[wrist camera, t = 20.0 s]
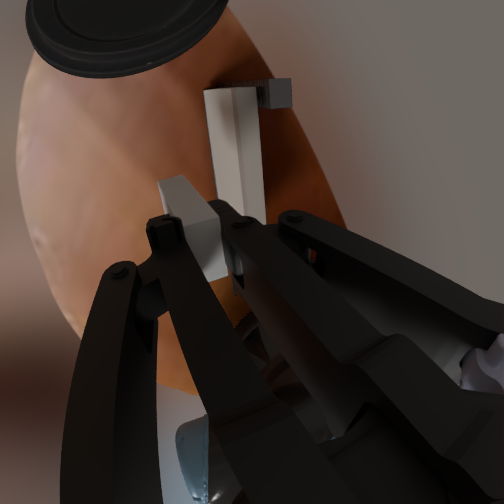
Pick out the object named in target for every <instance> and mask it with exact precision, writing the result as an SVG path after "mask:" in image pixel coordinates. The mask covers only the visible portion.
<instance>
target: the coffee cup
mask: <svg viewBox="0 0 504 504" xmlns="http://www.w3.org/2000/svg"><path fill="white" fill-rule="evenodd" d="M227 3H228V0H28V2H27V6H26V15H25V20H26V28H27V33H28V36H29V38H30V40H31V42H32V45H33V47H34V49H35V50H36V51H37V53H38V54H39V55H40V56H41V58H42V59H43V60H45V61H46V62H47V63H48V64H50V65H51V66H53V67H54V68H56V69H58V70H60V71H62V72H65V73H68V74H71V75H75V76H79V77H85V78H102V79H104V78H116V77H124V76H129V75H134V74H137V73H141V72H144V71H147V70H150V69H153V68H156V67H158V66H161V65H163V64H165V63H167V62H169V61H171V60H173V59H175V58H177V57H178V56H180V55H182V54H183V53H185V52H186V51H188V50H189V49H190V48H192V47H193V46H194V45H196V44H197V43H198V42H199V41H200V40H201V39H202V38H204V37H205V36H206V35H207V34H208V32H209V31H210V30H211V29H212V28H213V27H214V25H215V24H216V23H217V21H218V20H219V18H220V16H221V15H222V13H223V11H224V9H225V7H226V5H227Z"/></svg>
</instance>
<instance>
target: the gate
mask: <svg viewBox="0 0 504 504" xmlns="http://www.w3.org/2000/svg"><path fill="white" fill-rule="evenodd" d="M204 98H205V106H206V114H207V122H208V129H209V136H210V144H211V151H212V158H213V165H214V172H215V179H216V186H217V192H218V199H221V200H224V201H226V202H227V203H229V204H230V206H232V207H233V208H234V209H235V210H236V211H237V212H238V213H239V214H240V215H241V216H251V217H254V218H256V219H257V220H258V221H260V222H261V223H262V224H263V225H266V216H265V201H264V186H263V172H262V158H261V145H260V132H259V120H258V107H257V96H256V87H234V88H218V89H210V90H204Z"/></svg>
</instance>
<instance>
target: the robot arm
mask: <svg viewBox="0 0 504 504" xmlns="http://www.w3.org/2000/svg"><path fill="white" fill-rule="evenodd" d="M158 186H159V191H160V195H161V200H162V204H163V209H164V213H165V215H161V216H158V217H154V218H151V219H149V221H148V222H147V224H146V226H147V227H146V233H147V237H148V240H149V243H150V247H151V250H152V254H151V256H150V257H149V258H148V259H147V260H146V261H145V262H143V263H142V264H140V265H138V266H136V264H135V263H134V262H131V261H121V262H117V263H115V264H113V265H111V266H110V267H109V268H108V269H106V270H105V272H104V273H103V275H102V278H101V280H100V283H99V286H98V289H97V292H96V295H95V298H94V301H93V304H92V307H91V310H90V313H89V316H88V319H87V323H86V326H85V330H84V333H83V337H82V340H81V344H80V348H79V352H78V356H77V360H76V364H75V369H74V373H73V378H72V383H71V388H70V393H69V398H68V405H67V410H66V417H65V425H64V432H63V441H62V452H61V467H60V504H163V497H162V489H161V479H160V468H159V456H158V438H157V410H156V372H157V340H158V317H159V316H161V315H162V314H164V313H165V312H167V311H169V313H170V316H171V319H172V322H173V325H174V328H175V331H176V334H177V337H178V340H179V343H180V346H181V349H182V351H183V354H184V357H185V360H186V362H187V365H188V368H189V370H190V373H191V375H192V378H193V381H194V383H195V386H196V388H197V391H198V393H199V395H200V398H201V400H202V402H203V405H204V407H205V410H206V412H207V414H205V415H204V416H203V417H200V418H197V419H195V420H192V421H189V422H186V423H184V424H182V425H180V426H179V428H178V429H177V431H176V436H175V442H176V449H177V455H178V459H179V463H180V467H181V471H182V474H183V477H184V480H185V483H186V485H187V488H188V490H189V492H190V494H191V496H192V497H193V499H194V501H195V502H196V503H197V504H208V503H210V504H504V304H501V303H498V302H495V301H491V300H488V299H485V298H482V297H480V296H478V295H477V294H475V293H473V292H472V291H469V290H468V289H466V288H464V287H462V286H461V285H459V284H457V283H455V282H453V281H452V280H449V279H448V278H446V277H444V276H442V275H440V274H438V273H436V272H434V271H432V270H431V269H429V268H426V267H425V266H423V265H421V264H419V263H417V262H415V261H413V260H411V259H408V258H407V257H405V256H403V255H401V254H398V253H396V252H394V251H392V250H390V249H388V248H385V247H383V246H382V245H380V244H377V243H375V242H373V241H371V240H369V239H367V238H364V237H362V236H360V235H358V234H356V233H353V232H351V231H349V230H347V229H344V228H342V227H340V226H338V225H335V224H333V223H331V222H328V221H326V220H324V219H321V218H319V217H316V216H314V215H312V214H309V213H307V212H304V211H299V210H288V211H286V212H283V213H281V214H280V215H279V217H278V224H269V225H263V224H262V223H261V222H260V221H258V220H257V219H256V218H254V217H251V216H241V215H240V214H239V213H238V212H237V211H236V210H235V209H234V208H233V207H232V206H230V204H229V203H227V202H226V201H224V200H221V199H216V200H212V201H209V202H206V201H205V200H204V199H203V197H202V196H201V195H200V194H199V193H198V192H197V191H196V189H195V188H194V187H193V186H192V185H191V184H190V183H189V181H188V180H187V179H186V178H185V177H184V176H183V175H180V176H176V177H172V178H168V179H164V180H160V181H158ZM310 249H312V250H314V251H316V252H317V255H316V261H313V260H311V259H310ZM227 266H228V268H229V269H230V270H231V276H232V283H233V289H234V294H235V296H237V290H238V291H239V292H240V294H241V295H242V297H243V298H244V300H245V301H246V303H247V304H248V306H249V307H250V308H251V310H252V312H251V313H250V314H249V315H247V316H246V317H245V318H244V319H243V320H242V321H241V322H240V323H239V325H238V326H237V327H236V329H234V327H233V325H232V324H231V322H230V320H229V318H228V317H227V315H226V313H225V311H224V310H223V308H222V306H221V304H220V303H219V301H218V299H217V297H216V295H215V293H214V292H213V290H212V288H211V286H210V284H209V283H208V282H211V281H214V280H217V279H220V278H223V277H226V276H228V271H227ZM457 384H459V386H458V385H457Z"/></svg>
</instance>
